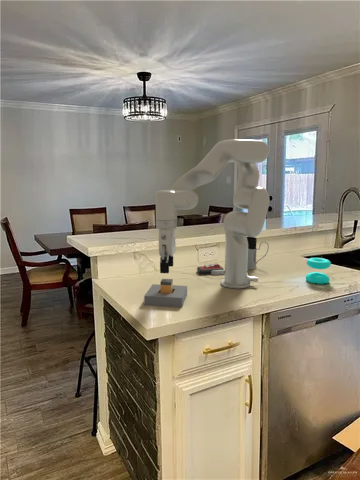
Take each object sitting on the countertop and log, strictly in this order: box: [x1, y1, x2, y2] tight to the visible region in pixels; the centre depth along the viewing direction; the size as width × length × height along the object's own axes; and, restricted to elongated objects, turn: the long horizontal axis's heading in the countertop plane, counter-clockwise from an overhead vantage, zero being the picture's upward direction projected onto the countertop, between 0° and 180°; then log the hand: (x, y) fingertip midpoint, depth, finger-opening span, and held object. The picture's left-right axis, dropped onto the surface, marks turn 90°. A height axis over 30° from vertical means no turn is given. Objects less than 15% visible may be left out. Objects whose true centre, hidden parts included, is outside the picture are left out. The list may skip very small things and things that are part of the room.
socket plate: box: [143, 283, 188, 308], centre depth 140 cm, size 14×14×4 cm
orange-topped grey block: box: [159, 278, 174, 293], centre depth 139 cm, size 4×4×7 cm
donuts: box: [305, 257, 332, 285], centre depth 162 cm, size 10×10×10 cm
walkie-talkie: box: [196, 262, 225, 276], centre depth 177 cm, size 9×4×20 cm
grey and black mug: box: [246, 236, 270, 270], centre depth 185 cm, size 9×14×15 cm, turn 70°
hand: (166, 269), depth 138 cm, fingers open, 9 cm apart
